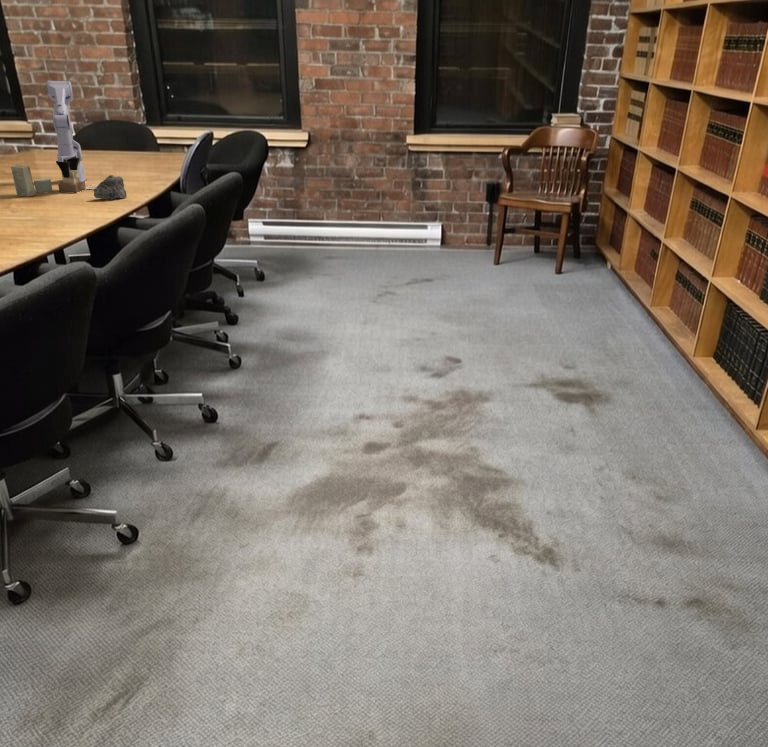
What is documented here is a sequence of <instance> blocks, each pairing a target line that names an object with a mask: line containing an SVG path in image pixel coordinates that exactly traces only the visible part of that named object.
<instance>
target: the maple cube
mask: <svg viewBox="0 0 768 747" xmlns="http://www.w3.org/2000/svg"><path fill="white" fill-rule="evenodd" d="M69 174H70V176H69V178H64V176H63V174H62V173H61V177H62V182H63V183H68V184H75V183H78V182H80V181H79V175H78V170H69Z"/></svg>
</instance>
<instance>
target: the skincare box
mask: <svg viewBox="0 0 768 747" xmlns="http://www.w3.org/2000/svg"><path fill="white" fill-rule="evenodd" d="M10 170H11V174H12V178H13V183H14V188H15V192H16V195H17V196H18V197H19V196H20V197H32V196H35V195H36V190H35V185H34V180H33V177H32V172H31V167H30V166H29V165H19V164H18V165H13V166H10Z"/></svg>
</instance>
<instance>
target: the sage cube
mask: <svg viewBox="0 0 768 747" xmlns="http://www.w3.org/2000/svg"><path fill="white" fill-rule="evenodd" d="M33 185H34V190H35V193H43V192H48V193H50V192H52V191H53V185H52V180H51V178H50V179H49V178H38V179H35V180H33ZM51 190H52V191H51ZM49 191H50V192H49Z"/></svg>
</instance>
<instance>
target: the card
mask: <svg viewBox="0 0 768 747" xmlns="http://www.w3.org/2000/svg"><path fill="white" fill-rule="evenodd" d="M94 185H95V184H92V186H89V185H87V186H88V187H87V186H85V187H86V190H87V189H92V188H94V189H95V188H96V187H97V186H94Z"/></svg>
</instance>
